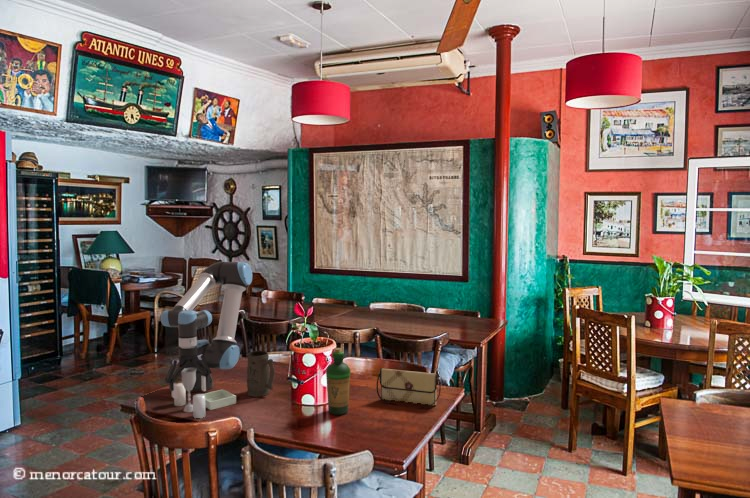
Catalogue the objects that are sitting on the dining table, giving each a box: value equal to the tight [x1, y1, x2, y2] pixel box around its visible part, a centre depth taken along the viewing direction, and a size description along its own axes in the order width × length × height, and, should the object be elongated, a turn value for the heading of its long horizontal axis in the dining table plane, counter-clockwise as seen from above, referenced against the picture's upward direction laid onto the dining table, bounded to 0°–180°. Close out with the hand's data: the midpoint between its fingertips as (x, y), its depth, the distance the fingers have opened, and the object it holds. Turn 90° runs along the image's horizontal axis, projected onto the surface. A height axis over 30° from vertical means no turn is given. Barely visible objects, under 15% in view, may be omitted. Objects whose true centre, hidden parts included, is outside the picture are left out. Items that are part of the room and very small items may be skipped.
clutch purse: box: [376, 367, 442, 409], centre depth 248 cm, size 30×7×15 cm, turn 71°
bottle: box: [325, 347, 351, 416], centre depth 238 cm, size 11×11×28 cm
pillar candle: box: [192, 393, 207, 419], centre depth 234 cm, size 5×5×9 cm
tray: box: [204, 388, 237, 411], centre depth 250 cm, size 13×13×4 cm
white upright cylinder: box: [173, 382, 187, 407], centre depth 248 cm, size 5×5×9 cm
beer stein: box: [246, 350, 275, 398], centre depth 262 cm, size 15×11×20 cm
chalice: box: [180, 368, 197, 413], centre depth 241 cm, size 7×7×18 cm
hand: (189, 394), depth 241 cm, fingers open, 13 cm apart
